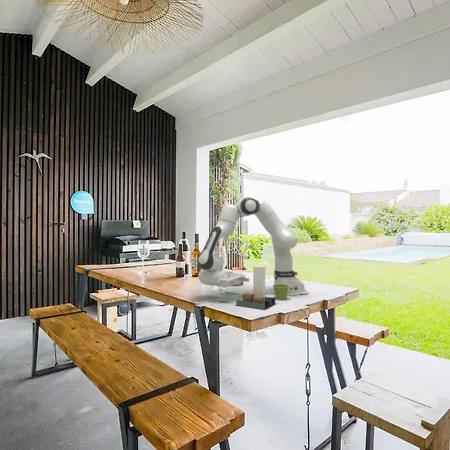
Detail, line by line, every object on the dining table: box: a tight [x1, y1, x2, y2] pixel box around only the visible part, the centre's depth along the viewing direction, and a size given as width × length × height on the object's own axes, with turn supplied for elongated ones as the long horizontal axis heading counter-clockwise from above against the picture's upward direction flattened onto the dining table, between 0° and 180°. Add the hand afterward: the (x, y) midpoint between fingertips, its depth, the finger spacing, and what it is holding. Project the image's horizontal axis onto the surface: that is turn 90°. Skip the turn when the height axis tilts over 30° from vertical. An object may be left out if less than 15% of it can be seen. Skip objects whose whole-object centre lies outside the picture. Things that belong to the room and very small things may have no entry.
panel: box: [252, 265, 266, 297], centre depth 192 cm, size 2×6×20 cm, turn 59°
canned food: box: [231, 281, 244, 287], centre depth 250 cm, size 11×10×10 cm
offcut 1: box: [242, 292, 254, 302], centre depth 188 cm, size 4×5×6 cm
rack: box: [233, 296, 278, 311], centre depth 189 cm, size 16×18×4 cm
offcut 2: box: [253, 296, 266, 303], centre depth 185 cm, size 4×5×5 cm
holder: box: [215, 291, 244, 304], centre depth 201 cm, size 12×14×4 cm
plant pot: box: [272, 284, 289, 301], centre depth 203 cm, size 9×9×9 cm
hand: (244, 281), depth 197 cm, fingers open, 8 cm apart
